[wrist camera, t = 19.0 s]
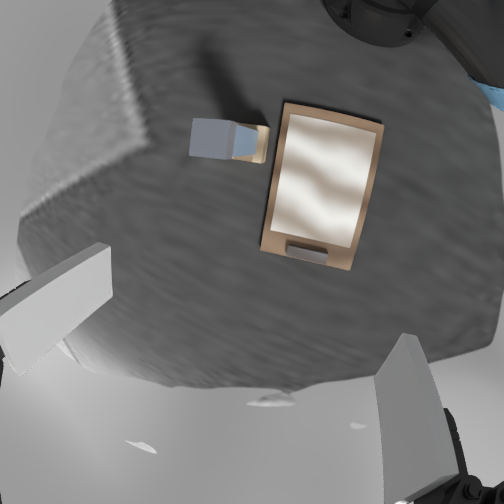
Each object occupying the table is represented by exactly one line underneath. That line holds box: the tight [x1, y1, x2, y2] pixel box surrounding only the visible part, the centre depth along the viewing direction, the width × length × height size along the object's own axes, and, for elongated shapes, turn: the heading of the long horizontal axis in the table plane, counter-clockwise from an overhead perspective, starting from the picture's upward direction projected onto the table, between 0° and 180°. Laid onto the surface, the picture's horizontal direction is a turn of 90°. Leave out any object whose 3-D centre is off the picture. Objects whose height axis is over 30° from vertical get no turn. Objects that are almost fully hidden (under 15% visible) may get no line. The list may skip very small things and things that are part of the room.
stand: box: [232, 123, 270, 163], centre depth 35 cm, size 5×5×3 cm
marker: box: [189, 118, 259, 160], centre depth 29 cm, size 4×4×14 cm
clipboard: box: [260, 103, 384, 271], centre depth 36 cm, size 22×14×1 cm, turn 172°
